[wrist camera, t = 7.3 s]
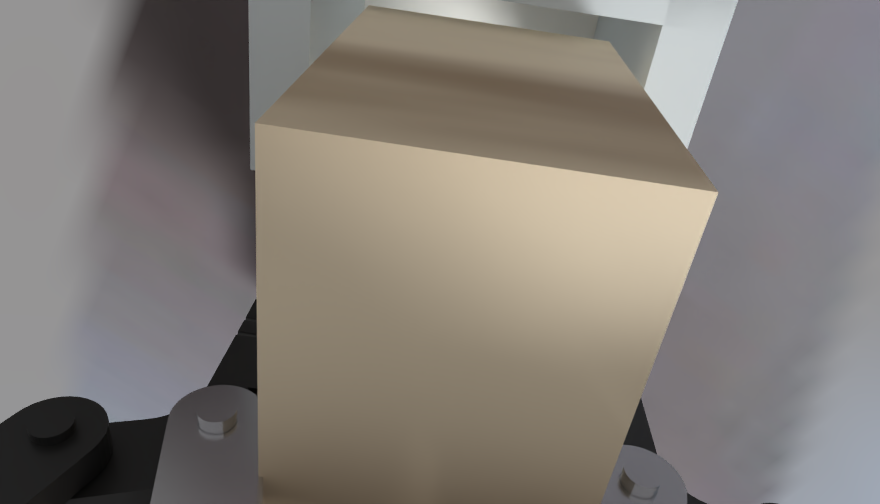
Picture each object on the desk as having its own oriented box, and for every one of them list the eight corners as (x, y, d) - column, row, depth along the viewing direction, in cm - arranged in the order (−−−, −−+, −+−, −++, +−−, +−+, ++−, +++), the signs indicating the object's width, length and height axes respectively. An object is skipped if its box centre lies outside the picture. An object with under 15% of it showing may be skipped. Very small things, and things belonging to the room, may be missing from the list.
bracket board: (538, 363, 22) (555, 532, 16) (315, 330, 22) (253, 488, 16) (654, -66, 15) (749, -34, 10) (337, -116, 15) (246, -113, 10)
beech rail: (369, 5, 11) (255, 122, 6) (608, 41, 11) (718, 192, 6) (335, 468, 16) (261, 746, 11) (494, 492, 16) (496, 780, 11)
